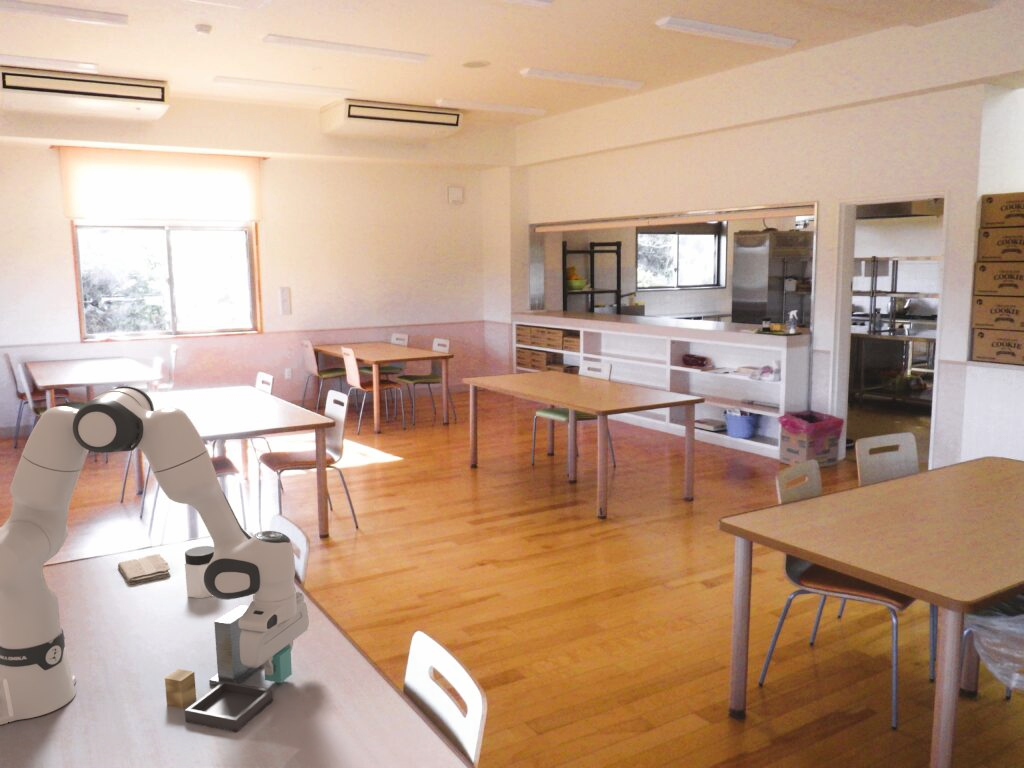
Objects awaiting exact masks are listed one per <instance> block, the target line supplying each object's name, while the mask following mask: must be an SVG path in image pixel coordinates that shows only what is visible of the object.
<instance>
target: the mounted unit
mask: <svg viewBox="0 0 1024 768" xmlns="http://www.w3.org/2000/svg"><path fill="white" fill-rule="evenodd" d="M249 606H250V605H244V604H239V605H238V606H237V607H235V608H234V609H233V608H232V609H231V610H230V611H229V612H227V613H226V614H224V615H222V616H221V617H219V618H217V619H216V620H215V621H213V622H214V638H215V651H216V666H217V667H216V668H217V673H216V674H215V675H214V676H212V677H211V678H209V681H208V682H209V685H210V686H214V687H216V686H218V685H219V684H221V683H222V682H223V681H227V682H232V683H238V684H243V682H244V681H246V680H247V679H249V678H250V677H251V676H252V675H254V674H255V673H256V672H258V671H259V670H260V669H261V668H262V666H263V664H262V665H260V666H259V667H258V668H251V667H246V666H244V665H243V664H242V663H241V659H240V634H241V632H242V630H243V629H241V628H239V625H238V622H239V619H240V617H241V616H242V615H243V614H244V613H245V611H246V610H247V609H248V607H249ZM263 667H264V666H263ZM258 669H259V670H258ZM254 672H255V673H254ZM253 673H254V674H253ZM249 676H250V677H249Z"/></svg>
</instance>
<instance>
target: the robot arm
mask: <svg viewBox="0 0 1024 768" xmlns="http://www.w3.org/2000/svg"><path fill="white" fill-rule="evenodd" d="M135 449H139V450H140V451H141V452H142V453H143V454H144V455H145V457H146V460H147V461H148V464H149V466H150V469H151V470H152V473H153V475H154V477H155V480H156V482H157V484H158V485H159V487H160V488H161V490H162V491H163V493H164V494H165V496H167V498H168V499H170V500H171V501H173V502H176V503H178V504H184V505H185V504H186V505H189V506H191V507H192V508H193V509H195V510H196V512H197V513H198V514H199V516H200V518H201V520H202V521H203V524H204V526H205V527H206V529H207V532H208V533H209V535H210V537H211V539H212V542H213V547H214V555H213V557H212V559H211V561H210V562H209V564H208V566H207V568H206V570H205V573H204V584H205V587H206V589H207V590H208V592H209V593H210V594H212V595H213V597H214V598H217V599H220V600H225V601H229V600H235V599H240V598H241V599H242V598H244V597H249V596H251V595H252V600H253V601H251V602H250V604H249V605H248V606H249V607H248V609H247V610H246V611H245V613H244V614H243V615H242V616H241V617H240V619H239V622H238V625H239V628H241V629H243V630H242V632H241V634H240V659H241V663H242V664H243V665H244V666H246V667H251V668H258V667H259V666H260V665H262V664H263V668H264V667H265V669H264V675H265V674H266V675H272V674H273V673H275V672H276V665H274V664H272V662H271V661H272V660H273V656H274V655H275V654H276V653H278V652H279V651H280V650H281V649H283V648H284V647H287V648H291V651H292V649H293V647H294V640H296V639H297V638H299V637H300V636H301V635H303V634H304V633H305V632H307V630H308V628H309V626H310V625H309V624H310V620H309V619H310V618H309V614H308V613H309V612H308V611H309V610H308V606H307V603H306V601H305V596H304V594H303V592H300V591H297V589H296V585H295V574H296V563H295V561H296V560H295V559H296V558H295V554H294V553H295V552H294V551H295V550H294V547H293V543H292V540H291V538H289V536H288V535H286V534H284V533H282V532H279V531H275V530H265V531H264V530H263V531H259V532H257V533H255V534H254V535H253V536H251V535H249V533H248V532H246V531H245V529H244V528H242V525H241V524H240V522H239V520H238V518H237V517H236V515H235V512H234V511H233V508H232V506H231V505H230V503H229V500H228V499H227V496H226V495H225V492H224V491H223V489H222V486H221V483H220V481H219V478H218V475H217V471H216V469H215V466H214V463H213V461H212V458H211V456H210V454H209V451H208V449H207V447H206V445H205V443H204V440H203V439H202V437H201V435H200V433H199V431H198V430H197V428H196V427H195V425H194V423H193V422H192V420H191V419H190V417H189V416H188V415H187V413H185V412H184V410H182V409H180V408H176V407H165V408H160V409H157V410H155V409H154V404H153V401H152V399H151V398H150V396H149V395H148V394H147V393H146V392H145V391H144V390H142V389H140V388H137V387H135V386H125V385H124V386H118V387H115V388H113V389H110V390H107V391H105V392H102V393H100V394H98V395H97V396H95V397H94V398H92V399H91V400H89V401H87V402H86V403H84V404H82V406H81V407H80V408H76V407H71V406H66V405H59V406H54V407H50V408H48V409H47V410H45V411H44V412H43V413H42V414H41V416H40V418H39V419H38V420H37V423H36V424H35V426H34V427H33V429H32V431H31V433H30V435H29V437H28V439H27V441H26V443H25V446H24V448H23V451H22V452H21V453H22V454H21V456H20V459H19V462H18V465H17V467H16V469H15V472H14V476H13V479H12V481H11V484H10V486H9V491H10V494H11V496H12V504H11V505H12V506H11V510H10V511H11V512H10V515H9V517H8V518H7V520H6V521H5V522H4V523H3V525H2V526H0V725H5V724H8V722H9V723H12V722H14V721H18V720H25V719H31V718H36V717H40V716H43V715H46V714H49V713H52V712H54V711H56V710H58V709H61V708H62V707H64V706H66V705H68V704H69V702H71V701H72V700H73V699H74V697H75V696H76V695H77V690H76V687H75V684H76V682H77V677H76V676H75V675H74V674H73V673H72V668H71V665H70V664H71V663H70V659H69V655H68V651H67V649H66V645H65V644H66V643H65V640H66V637H65V633H64V630H63V628H61V620H60V619H61V618H60V608H59V599H58V595H57V593H56V592H55V591H53V590H52V589H50V588H49V586H48V584H47V582H46V579H45V577H44V576H45V575H44V565H45V564H46V563H47V562H48V561H50V560H52V558H54V556H56V555H57V554H58V553H59V552H60V550H61V549H62V547H63V546H64V545H65V542H66V540H67V538H68V536H69V526H68V525H69V524H68V517H69V509H70V504H71V501H72V497H73V495H74V493H75V490H76V487H77V485H78V481H79V479H80V478H79V477H80V476H81V474H82V473H81V472H82V470H83V467H84V464H85V461H86V460H87V457H88V453H90V452H93V453H101V454H106V453H107V454H108V453H119V452H132V451H134V450H135Z"/></svg>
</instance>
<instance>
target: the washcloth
mask: <svg viewBox="0 0 1024 768" xmlns="http://www.w3.org/2000/svg"><path fill="white" fill-rule="evenodd" d="M117 564H118V565H117V568H118V570H119V571H120V572H121V574H122V576H123V577H124V578H125V580H126V581H127V584H128V585H129V586H132V585H138V584H139V585H140V584H145V583H149V582H155V581H160V580H163V579H168V578H170V577H171V573H170V572H169V570H171V568H170V567H169V564H168V562H167V561H166V560H165V559H164V557H163V556H162V555H161V554H159V553H157V554H152V555H147V556H144V557H140V558H135V559H130V560H125V561H121V562H119V563H117ZM167 577H168V578H167Z"/></svg>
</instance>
